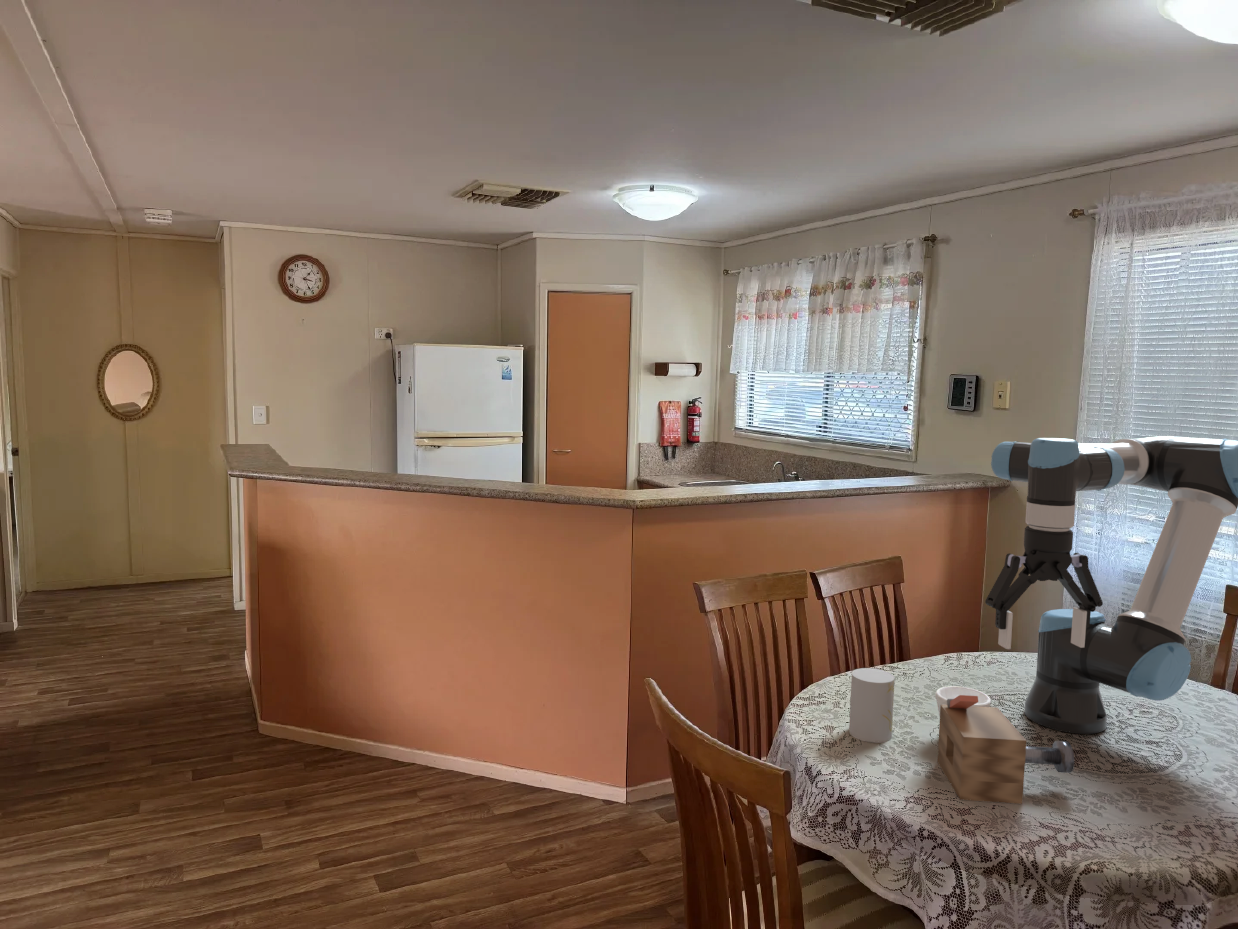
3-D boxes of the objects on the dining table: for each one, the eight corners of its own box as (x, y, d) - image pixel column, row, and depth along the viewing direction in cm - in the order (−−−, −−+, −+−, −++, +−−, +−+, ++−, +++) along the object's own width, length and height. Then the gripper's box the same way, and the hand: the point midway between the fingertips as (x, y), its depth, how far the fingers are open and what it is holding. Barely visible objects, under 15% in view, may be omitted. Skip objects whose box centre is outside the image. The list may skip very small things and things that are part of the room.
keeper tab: (965, 709, 151) (964, 700, 152) (978, 702, 144) (977, 692, 145) (947, 708, 151) (946, 699, 152) (959, 701, 144) (958, 691, 145)
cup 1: (894, 744, 161) (897, 684, 160) (850, 740, 162) (853, 680, 161) (889, 727, 169) (892, 670, 167) (847, 723, 170) (850, 666, 169)
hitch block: (993, 765, 153) (997, 707, 151) (1022, 804, 139) (1026, 740, 138) (937, 762, 154) (940, 704, 152) (959, 799, 140) (963, 737, 139)
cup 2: (963, 756, 156) (966, 708, 155) (922, 736, 165) (924, 690, 164) (999, 746, 161) (1002, 700, 160) (957, 726, 169) (959, 682, 168)
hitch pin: (1060, 764, 147) (1062, 736, 146) (1073, 778, 142) (1075, 749, 141) (974, 759, 148) (976, 731, 148) (984, 773, 143) (985, 744, 143)
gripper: (1102, 522, 149) (1093, 637, 152) (969, 523, 147) (962, 640, 149) (1131, 530, 142) (1122, 651, 144) (991, 531, 140) (984, 654, 142)
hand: (1041, 646), depth 147 cm, fingers open, 13 cm apart
